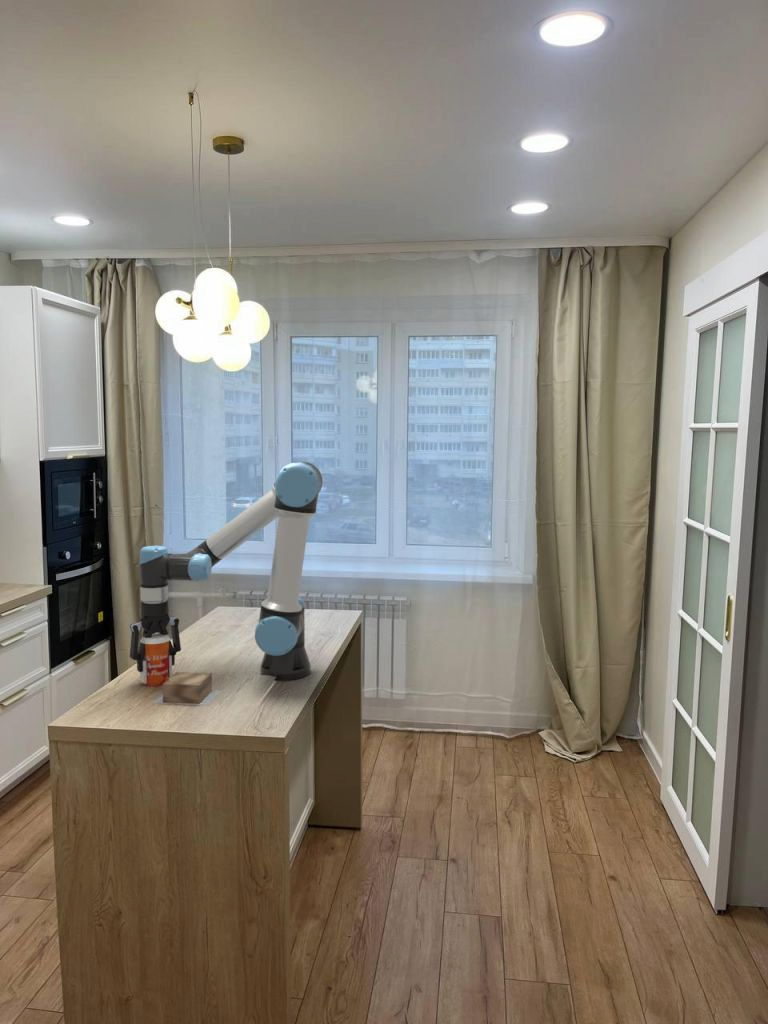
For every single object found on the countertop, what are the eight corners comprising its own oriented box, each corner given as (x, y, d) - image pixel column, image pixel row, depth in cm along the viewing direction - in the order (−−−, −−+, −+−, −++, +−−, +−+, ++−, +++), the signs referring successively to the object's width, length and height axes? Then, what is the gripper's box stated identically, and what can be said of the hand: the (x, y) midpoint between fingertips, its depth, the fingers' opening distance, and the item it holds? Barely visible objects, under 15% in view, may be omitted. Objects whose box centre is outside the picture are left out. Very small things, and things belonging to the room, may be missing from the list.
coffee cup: (140, 692, 204) (139, 639, 202) (142, 682, 211) (140, 632, 210) (171, 689, 206) (170, 638, 204) (172, 680, 214) (171, 630, 212)
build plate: (221, 694, 202) (221, 690, 202) (208, 709, 191) (208, 705, 191) (168, 692, 203) (168, 688, 203) (153, 707, 192) (152, 703, 192)
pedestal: (211, 690, 202) (211, 673, 201) (199, 703, 192) (199, 685, 191) (176, 689, 202) (176, 671, 202) (162, 702, 192) (162, 683, 192)
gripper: (181, 593, 215) (183, 669, 218) (114, 603, 203) (117, 683, 205) (192, 598, 210) (194, 675, 212) (124, 607, 197) (127, 690, 199)
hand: (156, 679), depth 208 cm, fingers closed on coffee cup, 7 cm apart
